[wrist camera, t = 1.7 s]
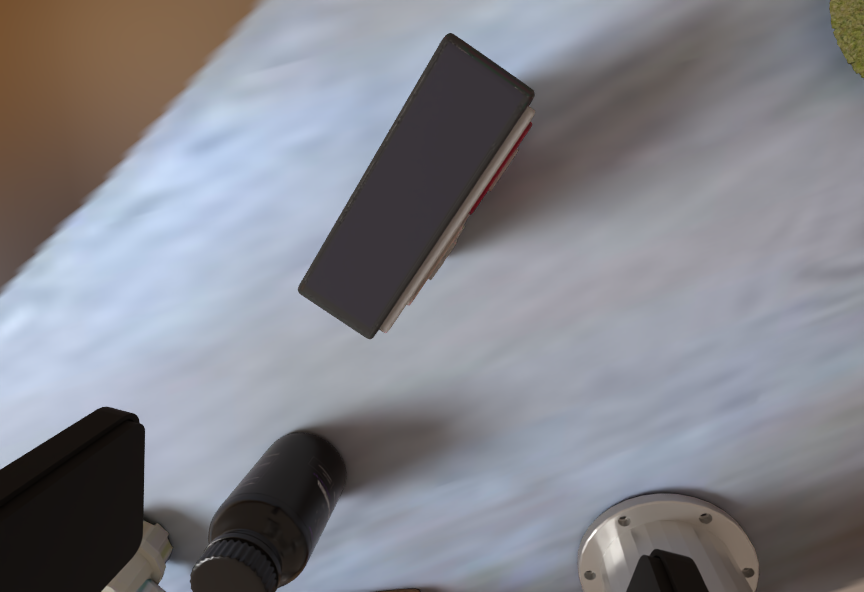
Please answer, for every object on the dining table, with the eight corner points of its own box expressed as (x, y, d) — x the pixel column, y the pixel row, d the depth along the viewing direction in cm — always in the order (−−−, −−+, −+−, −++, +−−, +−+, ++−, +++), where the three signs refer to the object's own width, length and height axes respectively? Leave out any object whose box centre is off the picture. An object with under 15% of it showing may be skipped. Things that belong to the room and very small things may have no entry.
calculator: (434, 270, 34) (384, 355, 19) (382, 235, 33) (292, 294, 19) (531, 128, 30) (557, 103, 16) (473, 88, 30) (448, 27, 16)
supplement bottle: (365, 469, 39) (308, 600, 27) (314, 516, 41) (240, 657, 29) (300, 412, 38) (214, 521, 27) (251, 463, 40) (151, 585, 29)
